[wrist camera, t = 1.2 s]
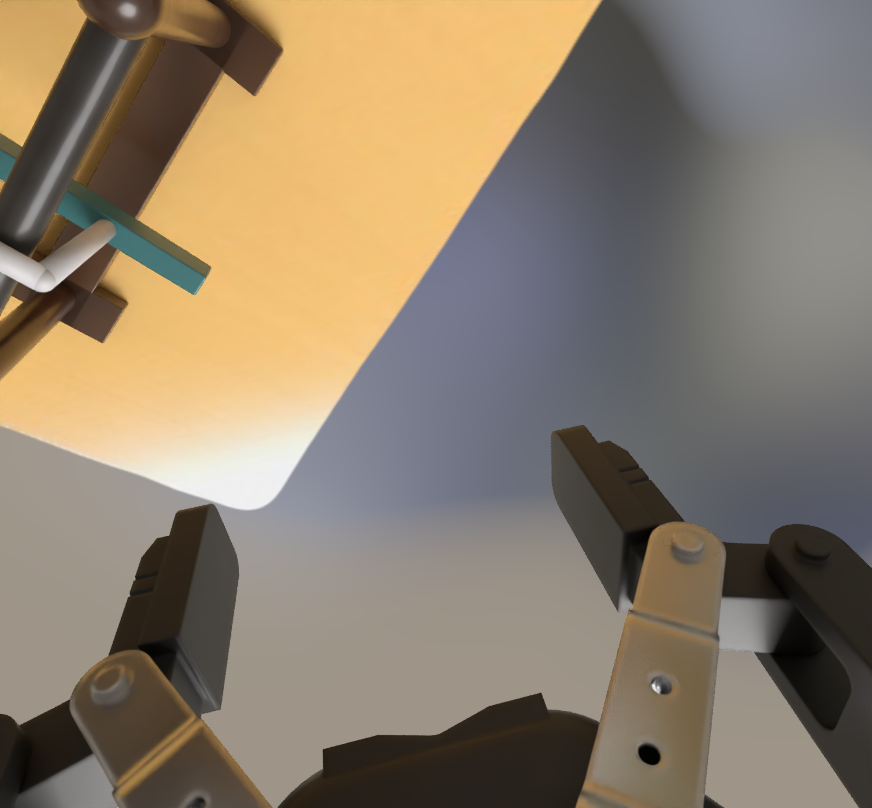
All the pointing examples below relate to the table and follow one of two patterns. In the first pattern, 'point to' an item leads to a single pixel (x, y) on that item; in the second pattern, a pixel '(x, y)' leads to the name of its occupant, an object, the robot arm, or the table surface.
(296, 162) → the table surface
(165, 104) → the stand
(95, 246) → the hanger
